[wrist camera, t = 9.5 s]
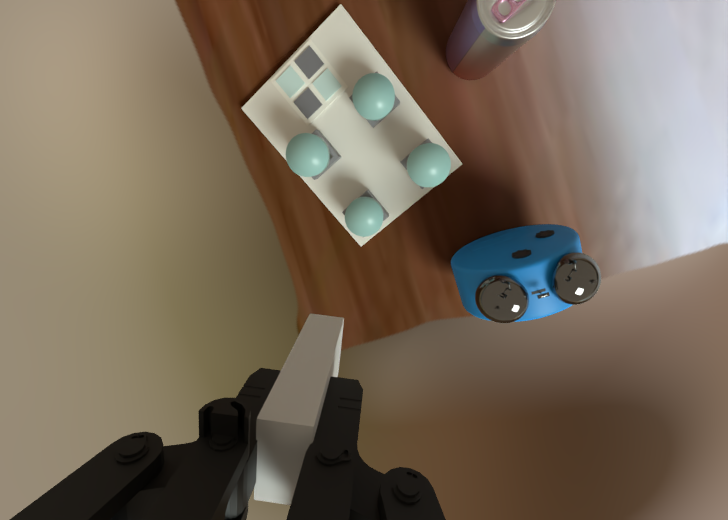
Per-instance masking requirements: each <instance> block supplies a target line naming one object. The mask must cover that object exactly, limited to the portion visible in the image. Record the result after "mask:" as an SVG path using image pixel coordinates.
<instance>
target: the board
mask: <svg viewBox="0 0 728 520" xmlns="http://www.w3.org/2000/svg"><path fill="white" fill-rule="evenodd" d="M370 73H378V74H381V75H384V76H385V77H386V78H388V79H389V81H390V82H391V83H392V85H393V88H394V92H395V101H394V106H393V108H392V110H391V112H390V113H389V114H388V115H387V116H386V117H385V118H383V119H381V120H377V121H371V120H367V119H365V118H364V117H362V116H361V115H360V114H359V113H358V112H357V110H356V109H355V107H354V104H353V99H352V94H353V89H354V86H355V84H356V83H357V81H358V80H359V79H360V78H361V77H363V76H364V75H366V74H370ZM241 109H242V110H243V111H244V112H245V113H246V115H247V116H248V117H249V118H250V119H251V120H252V121H253V123H254V124H255V125H256V126H257V127H258V128H259V130H260V131H261V132H262V133H263V134H264V135H265V136H266V138H267V139H268V140H269V141H270V142H271V143H272V145H273V146H274V147H275V148H276V149H277V150H278V151H279V153H280V154H281V155H282V156H283V157H284V158H285V160H286V148H287V145H288V143H289V142H290V140H291V139H292V138H293V137H294V136H296V135H298V134H301V133H310V134H314V135H317V136H319V137H321V138H322V139H323V140H324V141H325V142H326V143H327V145H328V147H329V150H330V161H329V164H328V166H327V168H326V169H325V170H324V171H323V172H322V173H320V174H318V175H315V176H312V177H303V176H300V175H299V176H300V177H301V178H302V179H303V180H304V182H305V183H306V184H307V185H308V186H309V187H310V188H311V190H312V191H313V192H314V193H315V194H316V195H317V197H318V198H319V199H320V200H321V201H322V202H323V203H324V205H325V206H326V207H327V208H328V209H329V210H330V212H331V213H332V214H333V215H334V216H335V217H336V218H337V220H338V221H339V222H340V223H341V224H342V225H343V227H344V228H345V229H346V230H347V231H348V232H349V233H350V235H351V236H352V237H353V238H354V239H355V240H356V242H357V243H358V244H359V245H360V246H362V245H364V244H365V243H366V242H367V241H368V240H370V239H371V238H372V237H373V236H375V235H376V234H377V233H378V232H380V231H381V230H382V229H383V228H384V227H386V226H387V225H388V224H389V223H391V222H392V221H393V220H394V219H396V218H397V217H398V216H399V215H400V214H402V213H403V212H404V211H405V210H407V209H408V208H409V207H410V206H412V205H413V204H414V203H415V202H416V201H418V200H419V199H420V198H421V197H423V196H424V195H425V194H426V193H428V192H429V191H430V190H431V189H432V188H434V187H435V186H434V187H422V186H419V185H417V184H416V183H415V182H414V181H413V180H412V179H411V178H410V176H409V174H408V172H407V160H408V157H409V155H410V153H411V152H412V151H413V150H414V149H415V148H416V147H418V146H420V145H422V144H426V143H435V144H438V145H440V146H442V147H443V148H444V149H445V150H446V151H447V153H448V154H449V157H450V161H451V168H450V172H449V174H448V175H450V174H451V173H452V172H453V171H455V170H456V169H457V168H458V167H460V166H461V165H462V163H461V161H460V160H459V159H458V157H457V156H456V155H455V153H454V152H453V151H452V149H451V148H450V147H449V145H448V144H447V143H446V141H445V140H444V139H443V138H442V136H441V135H440V134H439V132H438V131H437V130H436V128H435V127H434V126H433V124H432V123H431V122H430V120H429V119H428V118H427V116H426V115H425V114H424V113H423V111H422V110H421V109H420V107H419V106H418V105H417V103H416V102H415V101H414V99H413V98H412V97H411V95H410V94H409V93H408V91H407V90H406V89H405V88H404V86H403V85H402V84H401V82H400V81H399V80H398V78H397V77H396V76H395V74H394V73H393V72H392V70H391V69H390V68H389V66H388V65H387V64H386V63H385V61H384V60H383V59H382V57H381V56H380V55H379V53H378V52H377V51H376V49H375V48H374V47H373V45H372V44H371V43H370V41H369V40H368V39H367V38H366V36H365V35H364V34H363V32H362V31H361V30H360V28H359V27H358V26H357V24H356V23H355V22H354V20H353V19H352V18H351V16H350V15H349V14H348V13H347V11H346V10H345V9H344V7H343V6H342V5H341V4H340V5H339V6H338V7H337V8H336V10H335V11H334V12H333V13H332V14H331V15H330V16H329V17H328V18H327V19H326V20H325V21H324V22H323V23H322V24H321V25H320V26H319V27H318V28H317V29H316V30H315V32H314V33H313V34H312V35H311V36H310V37H309V38H308V39H307V40H306V41H305V42H304V43H303V44H302V45H301V46H300V47H299V48H298V49H297V50H296V51H295V52H294V54H293V55H292V56H291V57H290V58H289V59H288V60H287V61H286V62H285V63H284V64H283V65H282V66H281V67H280V68H279V69H278V70H277V71H276V72H275V73H274V74H273V76H272V77H271V78H270V79H269V80H268V81H267V82H266V83H265V84H264V85H263V86H262V87H261V88H260V89H259V90H258V91H257V92H256V93H255V94H254V95H253V97H252V98H251V99H250V100H249V101H248V102H247V103H246V104H245V105H244V106H243V107H242V108H241ZM286 161H287V160H286ZM359 197H371V198H373V199H375V200H376V201H377V202H378V203H379V204H380V205H381V207H382V209H383V223H382V225H381V227H380V229H379V230H378V231H377V232H376V233H375V234H373V235H371V236H366V237H362V236H358V235H355V234H354V233H352V232H351V231H350V230H349V229H348V227H347V225H346V223H345V212H346V209H347V207H348V206H349V205H350V203H351V202H352V201H353V200H355V199H357V198H359Z"/></svg>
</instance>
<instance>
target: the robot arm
mask: <svg viewBox="0 0 728 520" xmlns="http://www.w3.org/2000/svg"><path fill="white" fill-rule="evenodd" d="M343 323H344V318H341V317H333V316H325V315H317V314H310V315H309V317H308V318H307V320H306V322H305V324H304V326H303V328H302V330H301V332H300V334H299V336H298V338H297V340H296V342H295V344H294V346H293V348H292V350H291V352H290V354H289V356H288V358H287V360H286V362H285V364H284V366H283V368H282V370H281V371H279V370H271V369H265V368H260V369H259V370H257V371H256V372H254V373H253V374H252V375H250V377H249V378H248V380H247V381H246V383H245V384H244V387H242V389H241V390H240V392H239V394H238V396H237V397H236V398H222V399H218V400H214V401H212V402H210V403H208V404H206V405H204V406H203V407H202V408H201V409H200V410H199V438H198V439H197V441H194V442H192V443H186V444H179V445H171V446H163V442H162V439H161V437H159V436H158V435H156V434H155V433H149V432H140V433H133V434H130V435H127V436H124V437H122V438H120V439H119V440H117V441H115V442H114V443H112V444H110V445H109V446H108V447H106V448H105V449H104V450H102V451H101V452H100V453H98V454H97V455H96V456H95V457H93V458H92V459H91V460H89V461H88V462H86V463H85V464H84V465H82V466H81V467H80V468H78V469H77V470H76V471H74V472H73V473H72V474H70V475H69V476H68V477H66V478H65V479H64V480H62V481H61V482H60V483H58V484H57V485H56V486H54V487H53V488H51V489H50V490H49V491H48V492H46V493H45V494H43V495H42V496H41V497H40V498H38V499H37V500H35V501H34V502H33V503H31V504H30V505H29V506H27V507H26V508H25V509H23V510H22V511H21V512H19V513H18V514H17V515H15V516H14V517H13V518H12V519H10V520H246V518H247V513H248V501H249V498H250V496H251V493H252V491H253V489H254V500H260V501H267V502H273V503H280V504H287V505H291V506H290V509H289V513H288V516H287V520H446V519H445V517H444V515H443V512H442V509H441V507H440V504H439V502H438V499H437V497H436V494H435V492H434V489H433V487H432V485H431V484H430V482H429V481H428V479H427V478H426V477H424V476H423V475H422V474H421V473H420V472H417V471H415V470H413V469H410V468H403V467H399V468H395V469H391V470H390V471H388V472H387V473H386V474H383V473H381V472H378V471H376V470H374V469H373V468H371V467H369V466H368V465H367V464H366V463H365V462H364V461H363V460H362V459H361V457H360V456H359V453H358V450H357V440H358V431H359V422H360V413H361V403H362V394H363V389H362V387H361V385H360V383H359V381H358V380H353V379H345V378H339V377H337V376H338V371H339V361H340V352H341V342H342V332H343Z"/></svg>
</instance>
